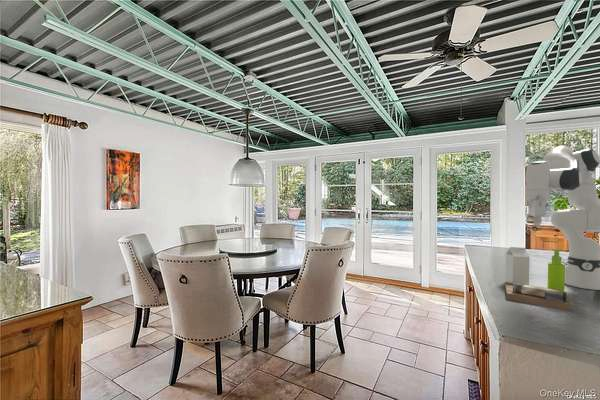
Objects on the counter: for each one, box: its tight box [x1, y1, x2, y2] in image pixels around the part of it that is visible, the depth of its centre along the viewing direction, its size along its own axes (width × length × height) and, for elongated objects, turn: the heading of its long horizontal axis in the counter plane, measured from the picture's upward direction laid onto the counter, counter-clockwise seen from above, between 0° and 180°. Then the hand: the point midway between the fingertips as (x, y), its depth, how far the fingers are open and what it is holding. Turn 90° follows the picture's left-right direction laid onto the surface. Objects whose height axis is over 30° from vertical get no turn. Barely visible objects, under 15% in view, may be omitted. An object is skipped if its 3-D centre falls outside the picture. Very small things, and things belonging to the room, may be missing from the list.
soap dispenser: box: [547, 248, 569, 292], centre depth 130 cm, size 6×7×20 cm
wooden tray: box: [504, 282, 573, 312], centre depth 121 cm, size 22×20×6 cm
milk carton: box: [504, 246, 530, 285], centre depth 140 cm, size 7×7×19 cm
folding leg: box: [513, 283, 568, 300], centre depth 115 cm, size 17×4×3 cm, turn 53°
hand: (536, 225), depth 127 cm, fingers closed
